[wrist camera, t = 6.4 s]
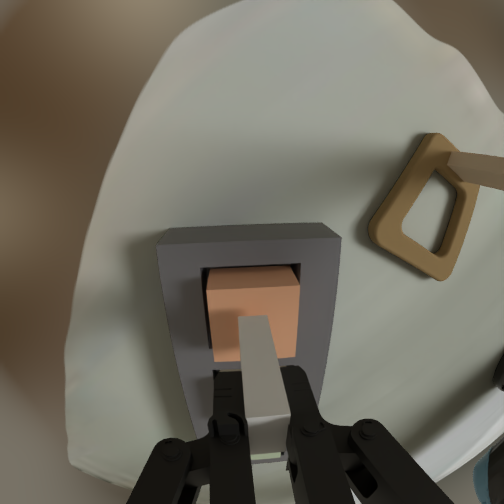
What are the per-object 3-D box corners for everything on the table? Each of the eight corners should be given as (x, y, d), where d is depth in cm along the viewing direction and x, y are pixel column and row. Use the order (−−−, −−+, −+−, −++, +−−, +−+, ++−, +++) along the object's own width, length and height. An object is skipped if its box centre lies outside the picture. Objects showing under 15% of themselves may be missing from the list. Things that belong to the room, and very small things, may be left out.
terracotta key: (289, 265, 18) (300, 285, 15) (286, 330, 20) (295, 356, 17) (209, 268, 18) (206, 289, 15) (216, 334, 19) (214, 361, 16)
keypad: (169, 228, 20) (155, 244, 16) (321, 222, 20) (341, 237, 16) (206, 438, 28) (205, 464, 24) (299, 432, 28) (305, 458, 25)
